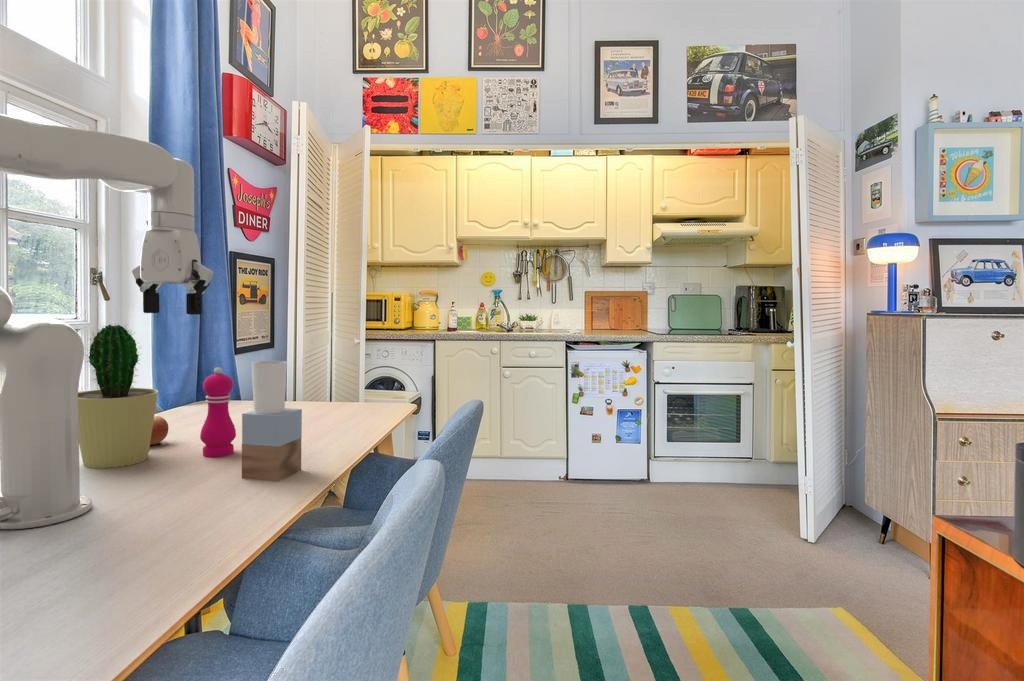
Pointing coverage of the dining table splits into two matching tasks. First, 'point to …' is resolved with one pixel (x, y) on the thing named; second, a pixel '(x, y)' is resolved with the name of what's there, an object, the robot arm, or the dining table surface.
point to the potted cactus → (115, 404)
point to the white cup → (269, 386)
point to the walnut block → (271, 461)
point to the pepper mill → (218, 416)
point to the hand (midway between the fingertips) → (172, 313)
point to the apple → (158, 430)
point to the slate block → (272, 427)
